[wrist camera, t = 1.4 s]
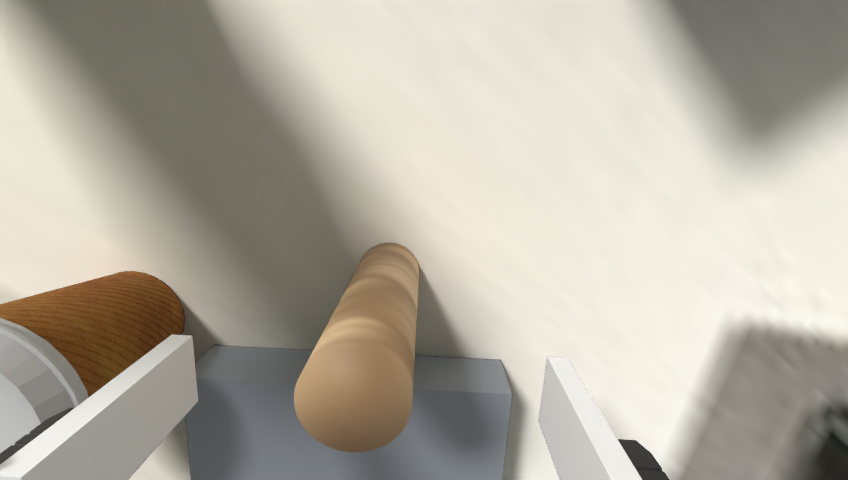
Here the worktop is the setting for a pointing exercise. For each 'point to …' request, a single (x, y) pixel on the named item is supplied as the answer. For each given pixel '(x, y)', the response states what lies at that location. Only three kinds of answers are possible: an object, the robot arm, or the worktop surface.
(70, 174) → the worktop surface
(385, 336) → the oak peg
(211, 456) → the socket block
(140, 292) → the disposable coffee cup
